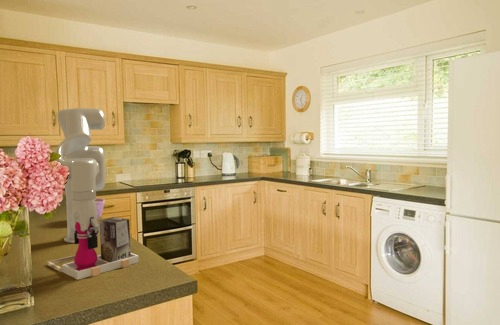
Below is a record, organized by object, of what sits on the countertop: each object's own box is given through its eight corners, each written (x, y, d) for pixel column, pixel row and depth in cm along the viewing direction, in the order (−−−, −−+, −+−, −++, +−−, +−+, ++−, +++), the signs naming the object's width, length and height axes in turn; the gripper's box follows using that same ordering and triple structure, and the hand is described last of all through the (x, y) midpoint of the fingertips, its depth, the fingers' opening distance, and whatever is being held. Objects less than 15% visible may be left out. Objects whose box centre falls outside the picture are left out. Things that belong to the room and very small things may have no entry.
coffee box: (131, 262, 137) (130, 218, 136) (117, 267, 132) (115, 222, 131) (114, 258, 142) (113, 216, 141) (100, 263, 136) (98, 219, 136)
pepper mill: (71, 271, 128) (69, 213, 127) (93, 266, 133) (91, 211, 132) (79, 277, 123) (76, 216, 122) (101, 271, 128) (99, 213, 127)
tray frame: (46, 264, 136) (46, 261, 136) (78, 257, 144) (78, 254, 144) (60, 271, 128) (60, 268, 128) (92, 263, 137) (92, 260, 137)
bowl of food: (66, 220, 214) (66, 199, 214) (104, 216, 223) (103, 197, 222) (66, 227, 196) (65, 205, 195) (106, 223, 205) (106, 202, 204)
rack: (62, 271, 128) (62, 264, 128) (122, 256, 145) (122, 249, 145) (79, 280, 120) (78, 272, 120) (140, 262, 137) (140, 256, 137)
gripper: (61, 195, 130) (63, 243, 131) (84, 199, 119) (87, 253, 120) (83, 192, 136) (85, 239, 137) (107, 197, 124) (109, 247, 125)
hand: (86, 245), depth 128 cm, fingers open, 9 cm apart
